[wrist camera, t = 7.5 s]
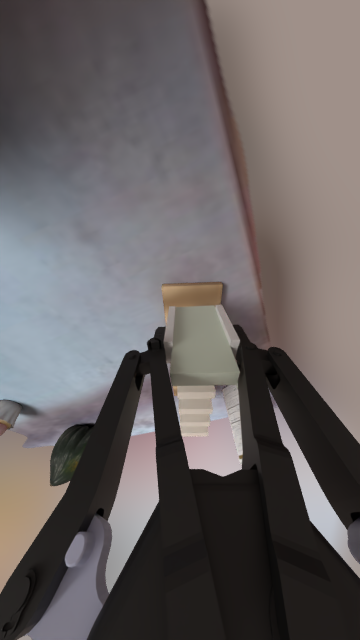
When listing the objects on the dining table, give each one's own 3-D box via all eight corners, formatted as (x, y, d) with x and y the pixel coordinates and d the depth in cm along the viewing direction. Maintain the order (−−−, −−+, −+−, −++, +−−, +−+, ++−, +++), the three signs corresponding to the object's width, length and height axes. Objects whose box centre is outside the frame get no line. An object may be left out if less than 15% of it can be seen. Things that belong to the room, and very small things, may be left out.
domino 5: (181, 382, 34) (180, 433, 26) (201, 382, 34) (208, 432, 26) (181, 386, 35) (181, 436, 27) (201, 386, 35) (207, 436, 27)
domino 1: (175, 307, 19) (169, 373, 10) (214, 305, 18) (240, 372, 10) (176, 317, 19) (172, 386, 11) (213, 315, 19) (236, 385, 11)
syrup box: (252, 386, 37) (286, 464, 25) (234, 396, 40) (258, 470, 28) (237, 378, 35) (267, 458, 23) (220, 389, 38) (239, 465, 26)
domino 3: (179, 357, 29) (178, 409, 21) (203, 356, 29) (212, 408, 21) (179, 362, 30) (179, 414, 22) (203, 361, 30) (211, 413, 22)
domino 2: (178, 340, 27) (177, 392, 18) (204, 340, 27) (215, 391, 18) (178, 346, 28) (177, 398, 19) (204, 346, 28) (214, 398, 19)
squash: (115, 453, 52) (74, 499, 37) (84, 455, 55) (36, 498, 41) (109, 412, 54) (68, 440, 40) (79, 417, 58) (32, 444, 43)
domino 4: (180, 370, 32) (180, 422, 23) (202, 370, 32) (210, 422, 23) (180, 375, 33) (180, 426, 24) (202, 374, 33) (209, 426, 24)
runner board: (162, 284, 22) (161, 286, 21) (220, 281, 22) (222, 284, 21) (174, 391, 39) (174, 395, 38) (207, 390, 38) (208, 395, 37)
